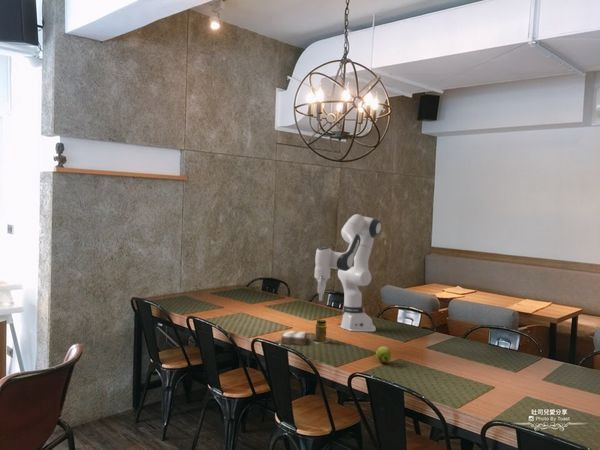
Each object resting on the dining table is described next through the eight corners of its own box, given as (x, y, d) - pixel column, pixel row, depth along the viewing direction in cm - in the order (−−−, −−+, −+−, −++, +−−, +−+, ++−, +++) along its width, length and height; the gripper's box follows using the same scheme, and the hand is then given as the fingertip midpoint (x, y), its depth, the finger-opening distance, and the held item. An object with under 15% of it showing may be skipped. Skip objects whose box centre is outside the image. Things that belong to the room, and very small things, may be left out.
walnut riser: (306, 338, 290) (306, 331, 290) (304, 344, 277) (304, 337, 277) (284, 337, 291) (284, 330, 291) (281, 343, 278) (281, 336, 278)
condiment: (328, 342, 285) (329, 321, 284) (316, 343, 280) (317, 322, 280) (321, 338, 291) (322, 318, 290) (309, 340, 286) (310, 319, 286)
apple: (388, 359, 258) (389, 344, 257) (392, 365, 249) (393, 349, 248) (373, 359, 257) (374, 344, 257) (377, 365, 248) (378, 349, 248)
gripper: (327, 277, 273) (325, 303, 274) (328, 272, 294) (327, 296, 294) (315, 277, 274) (314, 302, 274) (317, 272, 294) (316, 295, 295)
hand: (321, 299), depth 284 cm, fingers open, 8 cm apart
